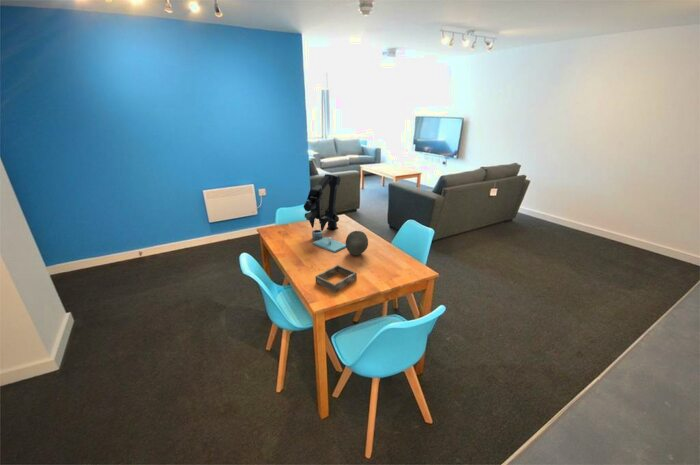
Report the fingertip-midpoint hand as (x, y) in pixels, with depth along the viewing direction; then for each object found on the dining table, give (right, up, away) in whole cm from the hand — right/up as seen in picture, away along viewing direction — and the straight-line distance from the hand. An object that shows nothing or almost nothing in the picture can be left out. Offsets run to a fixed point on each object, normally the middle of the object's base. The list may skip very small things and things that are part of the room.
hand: (317, 229), depth 206 cm
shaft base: (+9, -11, -9) cm, 17 cm away
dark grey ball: (+27, -16, -21) cm, 38 cm away
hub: (0, -6, +2) cm, 7 cm away
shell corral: (+15, -28, -51) cm, 60 cm away
